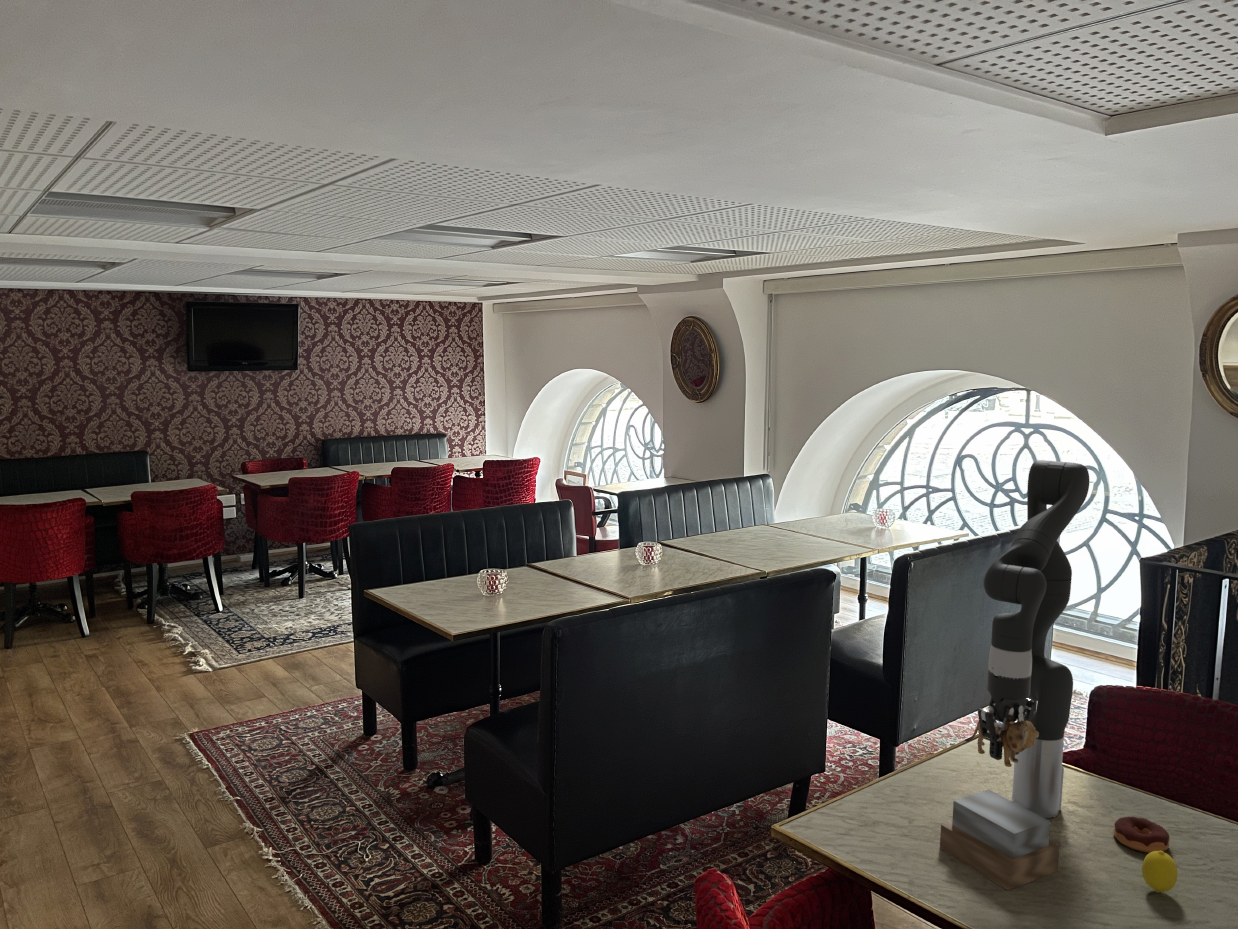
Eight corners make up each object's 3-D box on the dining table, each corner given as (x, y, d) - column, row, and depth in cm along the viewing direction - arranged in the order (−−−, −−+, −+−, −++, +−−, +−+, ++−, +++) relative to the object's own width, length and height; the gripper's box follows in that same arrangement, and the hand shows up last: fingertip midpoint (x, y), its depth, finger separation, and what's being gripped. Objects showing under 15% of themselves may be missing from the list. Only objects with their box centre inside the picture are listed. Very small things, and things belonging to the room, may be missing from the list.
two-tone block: (988, 831, 186) (991, 785, 185) (1058, 870, 172) (1061, 821, 171) (939, 848, 180) (942, 800, 178) (1008, 890, 166) (1011, 839, 164)
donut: (1116, 825, 190) (1117, 807, 189) (1171, 840, 184) (1172, 821, 183) (1109, 846, 182) (1110, 827, 181) (1166, 862, 176) (1167, 843, 175)
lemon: (1133, 884, 168) (1137, 843, 167) (1161, 883, 169) (1165, 842, 168) (1153, 902, 163) (1157, 860, 162) (1182, 900, 163) (1186, 859, 162)
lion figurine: (1041, 767, 170) (1044, 721, 169) (1025, 775, 167) (1028, 728, 166) (972, 740, 182) (974, 697, 181) (956, 746, 179) (958, 702, 178)
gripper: (1018, 657, 178) (1012, 741, 180) (967, 669, 171) (962, 755, 173) (1052, 669, 171) (1046, 756, 173) (1000, 682, 165) (995, 771, 167)
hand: (1004, 755), depth 173 cm, fingers closed on lion figurine, 4 cm apart
